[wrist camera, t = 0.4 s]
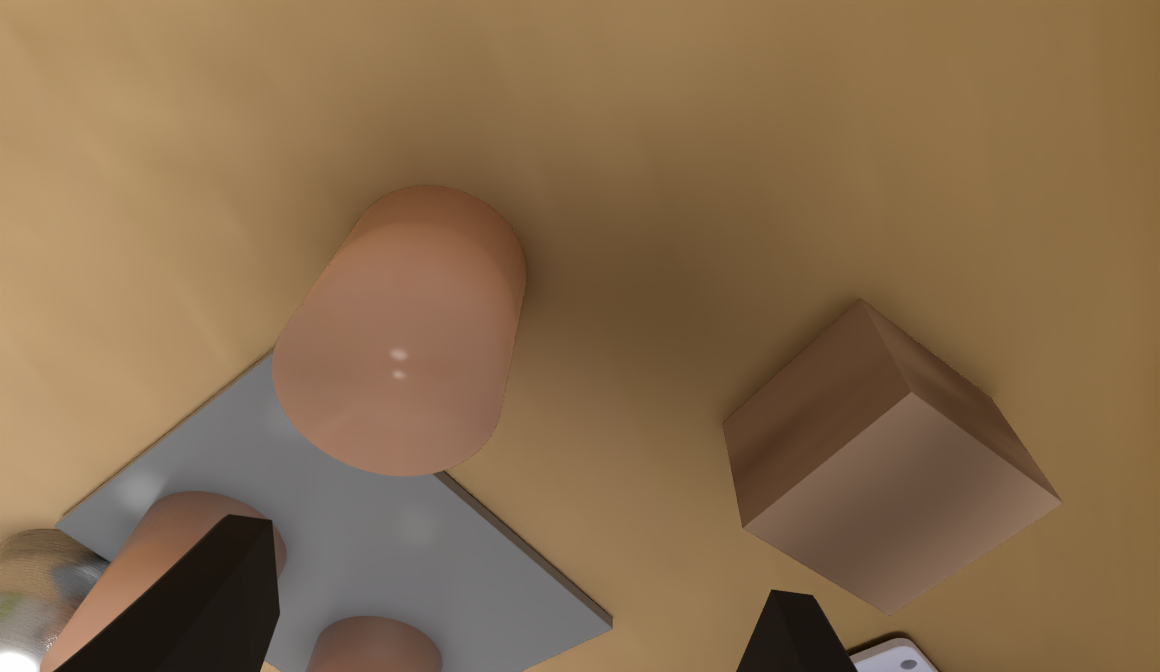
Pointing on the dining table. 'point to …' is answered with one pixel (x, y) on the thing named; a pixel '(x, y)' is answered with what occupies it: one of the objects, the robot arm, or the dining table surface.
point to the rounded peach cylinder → (406, 335)
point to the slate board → (353, 538)
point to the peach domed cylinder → (148, 563)
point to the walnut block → (880, 464)
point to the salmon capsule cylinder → (373, 647)
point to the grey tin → (41, 592)
